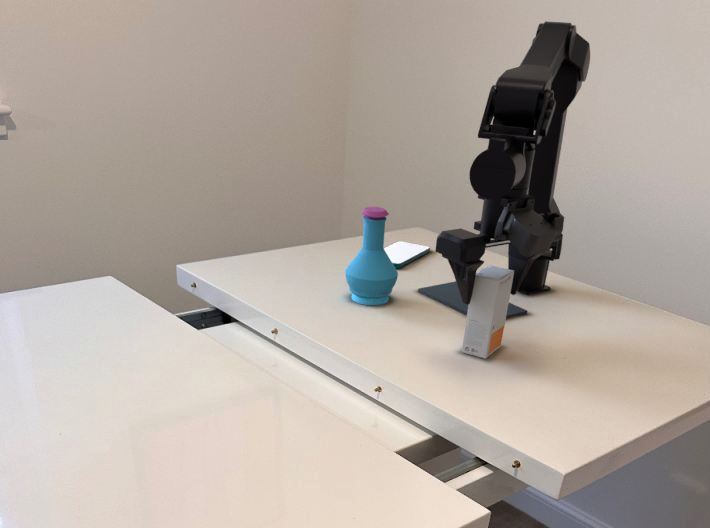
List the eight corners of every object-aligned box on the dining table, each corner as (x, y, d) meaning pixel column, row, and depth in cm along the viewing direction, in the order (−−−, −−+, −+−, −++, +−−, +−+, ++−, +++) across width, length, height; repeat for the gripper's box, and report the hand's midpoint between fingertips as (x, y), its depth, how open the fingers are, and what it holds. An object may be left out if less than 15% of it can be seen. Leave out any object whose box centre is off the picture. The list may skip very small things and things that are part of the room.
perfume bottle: (376, 311, 122) (381, 219, 113) (333, 298, 126) (336, 208, 118) (406, 298, 128) (413, 209, 119) (364, 286, 133) (369, 200, 124)
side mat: (458, 283, 136) (459, 280, 136) (527, 313, 124) (527, 310, 124) (417, 291, 131) (418, 288, 131) (484, 324, 120) (485, 320, 119)
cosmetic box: (486, 359, 107) (499, 280, 100) (460, 352, 109) (471, 274, 102) (502, 347, 112) (515, 269, 105) (476, 340, 113) (488, 264, 106)
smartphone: (398, 245, 156) (363, 261, 144) (398, 240, 155) (364, 257, 144) (431, 251, 153) (399, 269, 141) (432, 247, 152) (399, 264, 141)
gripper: (498, 205, 87) (479, 328, 96) (600, 191, 96) (574, 305, 105) (439, 186, 94) (427, 302, 104) (539, 175, 103) (520, 283, 112)
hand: (489, 298), depth 106 cm, fingers open, 9 cm apart
